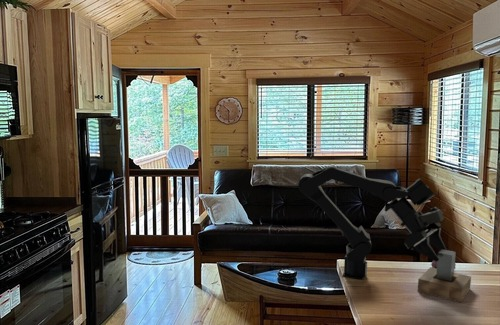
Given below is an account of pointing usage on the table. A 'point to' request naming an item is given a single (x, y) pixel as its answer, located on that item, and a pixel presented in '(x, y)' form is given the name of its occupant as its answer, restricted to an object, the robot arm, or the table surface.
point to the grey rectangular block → (446, 265)
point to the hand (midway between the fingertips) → (442, 256)
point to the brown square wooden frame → (444, 285)
